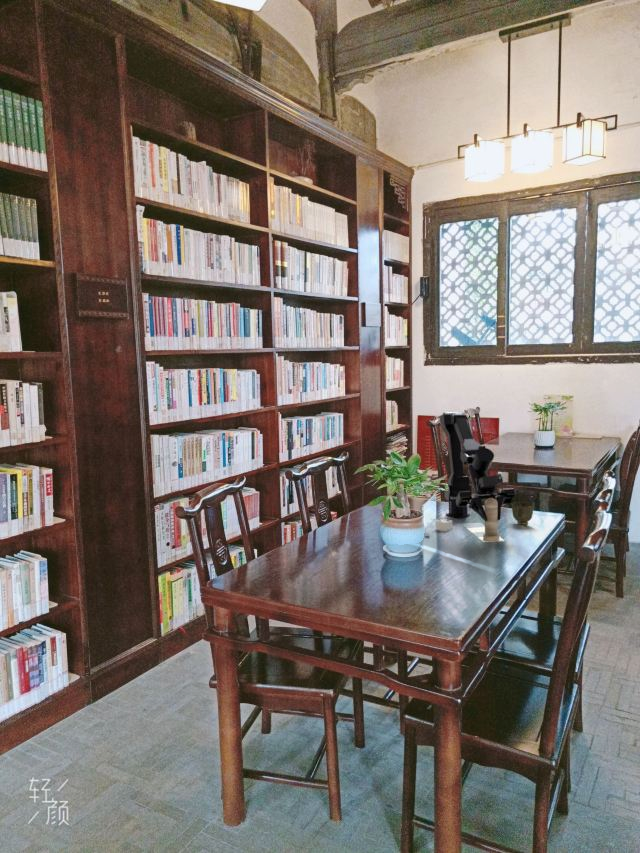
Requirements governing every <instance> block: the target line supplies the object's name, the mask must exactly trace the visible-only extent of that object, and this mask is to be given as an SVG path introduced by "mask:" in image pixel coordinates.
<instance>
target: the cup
mask: <svg viewBox="0 0 640 853" xmlns="http://www.w3.org/2000/svg"><path fill="white" fill-rule="evenodd" d="M510 505H511V511H512V516H513V519H514V520H515V521H516V524H517V525H520V526H523V527H527V526H528V525H529V521H531V520H532V517H533V514H534V507H535V502H533V501H532V502H531V503H530V502H529V501H525V500H522V501H521V500H518V501H513V502H512V503H511V504H510Z"/></svg>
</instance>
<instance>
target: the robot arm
mask: <svg viewBox="0 0 640 853" xmlns="http://www.w3.org/2000/svg"><path fill="white" fill-rule="evenodd" d="M467 420H468V416H467V414H466V413H463V412H462V413H461V412H460V411H451V412H450V411H449V412H443V413H442V415H440V416H439V423H440V426H441V429H442V432H444V433H445V436H446V437H447V446H448V448H447V449H448V456H449V457H448V458H449V465H450V466H449V467H450V476H449V477H448V479H447V485H448V487H449V491H444V499H445V500H446V501H447V502H448V513H447V512H446V513H445V515H446V516H447V517H452V518H456V519H461V518H465V517H469V516H471V515H470V513H468V508H469V509H471V510H473V511H474V512H475V513H476V514H477V515H478V516H479V517H480V518H481V519H482V520H483V521H484V522H485V521H487V517H486V514H485V507H484V506H483V502H482V501H485V500H486V499H488V498H494V499H496V501H497V502H498V521H500V520H501V513H502V506H503V505H512V504H511V503H513V502H514V500H515V498H516V497H517V492H516V490H515V489H514V488H513V487H510V488H507V487H506V488H502V489H501V490H500V492H499V493H497V492H495V491H496V489H497V488H496V487H499V485H502V484H503V482H504V479H503V476H502V474H501V473H495V474H494V475H488V472H487V471H488V470H489V469H490V468H491V466H492V463H493V460H494V458H495V454H494V452H493V451H492V450H491V449H489V448H487V447H486V445H481V444H480V443H479V442H477V441H476V440H475V438H474V435H473V433H472V431H471V428H470V425H469V423H468V421H467ZM464 465H469V466H468V469H467V471H468V473H467V475H468V476H467V475H466V474H465V472H464ZM470 481H471V483H470ZM471 484H472V485H471ZM473 490H474V492H473V493H472V491H473ZM494 492H495V493H494Z"/></svg>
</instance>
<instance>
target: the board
mask: <svg viewBox="0 0 640 853" xmlns="http://www.w3.org/2000/svg"><path fill="white" fill-rule="evenodd" d="M461 525H462V526H463V527H464V528H465V529H467V530H468V531H469V532H470V533H472V534H473V535H474V536H475V537H476V538H478V539H479V540H480V541H481V542H483V543H493V542H505V541H506V540H505V539H504V538H502V537H501V536H499V540H498V541H486V540H484V539H483V534H484V533H485V524H483V523H482V522H471V523H468V522H467V523H461Z"/></svg>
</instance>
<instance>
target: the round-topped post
mask: <svg viewBox="0 0 640 853" xmlns="http://www.w3.org/2000/svg"><path fill="white" fill-rule="evenodd" d="M483 505H484V506H483V507H484V511H485V514H486V517H487V521H484V525H485V533H484V534H483V539H484V540H486V541H498V540H499V537H500V534H499V531H498V530H499V528H498V527H499V526H498V525H499V524H498V523H499V522H498V521H499V520H498V502H497V501H496V499H494V498H488V499H486V500H484V503H483ZM498 542H499V541H498Z"/></svg>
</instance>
